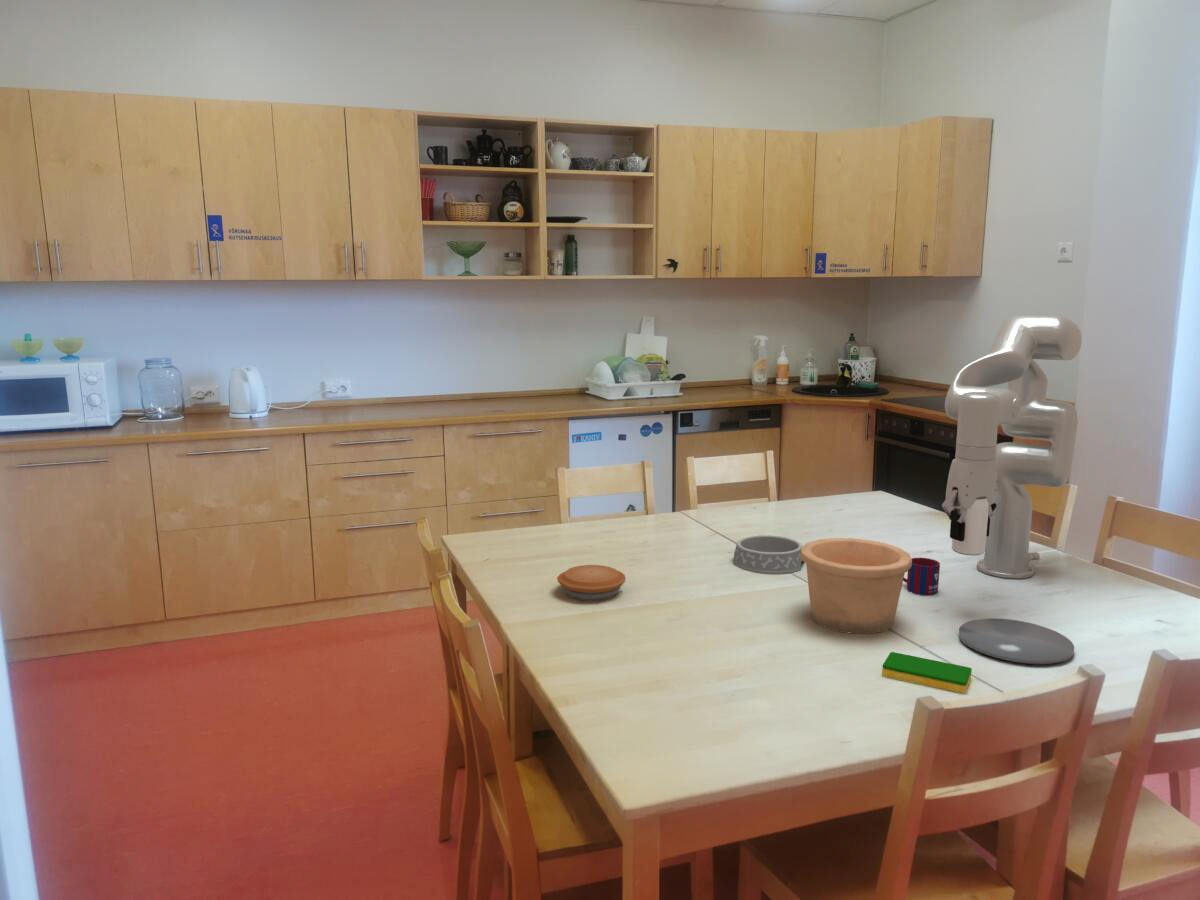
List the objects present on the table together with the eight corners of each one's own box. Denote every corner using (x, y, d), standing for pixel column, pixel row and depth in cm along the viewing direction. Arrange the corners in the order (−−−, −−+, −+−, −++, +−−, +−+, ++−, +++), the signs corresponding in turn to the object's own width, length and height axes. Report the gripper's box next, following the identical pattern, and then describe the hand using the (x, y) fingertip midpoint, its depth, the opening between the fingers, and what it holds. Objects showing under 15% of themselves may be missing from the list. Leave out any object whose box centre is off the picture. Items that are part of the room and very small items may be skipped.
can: (945, 547, 182) (949, 492, 179) (975, 545, 182) (979, 491, 180) (960, 556, 175) (965, 499, 173) (991, 555, 176) (995, 498, 174)
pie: (636, 586, 198) (636, 566, 197) (608, 608, 184) (608, 586, 183) (576, 577, 204) (576, 557, 204) (545, 598, 191) (545, 576, 190)
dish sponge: (965, 696, 145) (966, 682, 145) (881, 678, 152) (882, 665, 151) (971, 680, 151) (972, 667, 151) (890, 663, 158) (891, 650, 157)
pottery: (850, 647, 164) (854, 576, 161) (776, 610, 183) (778, 545, 180) (930, 627, 174) (935, 559, 171) (852, 594, 193) (856, 532, 190)
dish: (1006, 618, 178) (1007, 612, 178) (1097, 654, 160) (1098, 647, 160) (935, 635, 170) (936, 628, 169) (1023, 675, 152) (1024, 667, 152)
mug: (926, 597, 190) (928, 568, 189) (888, 585, 198) (889, 557, 197) (943, 591, 194) (946, 562, 193) (905, 579, 202) (907, 552, 201)
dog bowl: (726, 570, 210) (727, 549, 209) (743, 550, 227) (743, 530, 226) (797, 579, 204) (797, 557, 203) (808, 557, 220) (809, 537, 219)
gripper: (990, 445, 182) (984, 527, 185) (929, 453, 174) (924, 538, 178) (1021, 451, 175) (1013, 536, 179) (959, 460, 168) (953, 548, 171)
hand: (969, 536), depth 178 cm, fingers closed on can, 6 cm apart
